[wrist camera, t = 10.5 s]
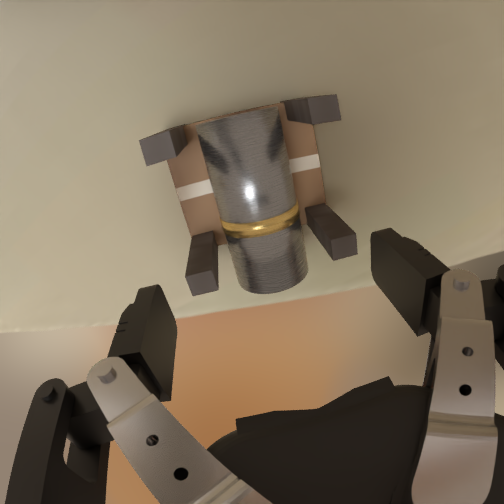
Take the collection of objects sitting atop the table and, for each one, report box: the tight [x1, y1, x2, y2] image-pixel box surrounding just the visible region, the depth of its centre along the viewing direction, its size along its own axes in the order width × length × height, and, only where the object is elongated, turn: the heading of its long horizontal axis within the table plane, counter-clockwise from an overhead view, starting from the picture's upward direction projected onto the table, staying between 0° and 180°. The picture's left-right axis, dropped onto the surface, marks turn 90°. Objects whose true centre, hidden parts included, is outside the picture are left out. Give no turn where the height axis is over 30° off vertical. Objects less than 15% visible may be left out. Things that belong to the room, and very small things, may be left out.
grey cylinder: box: [195, 106, 308, 294], centre depth 20 cm, size 11×5×5 cm, turn 13°
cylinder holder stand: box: [139, 94, 358, 296], centre depth 19 cm, size 10×9×7 cm
